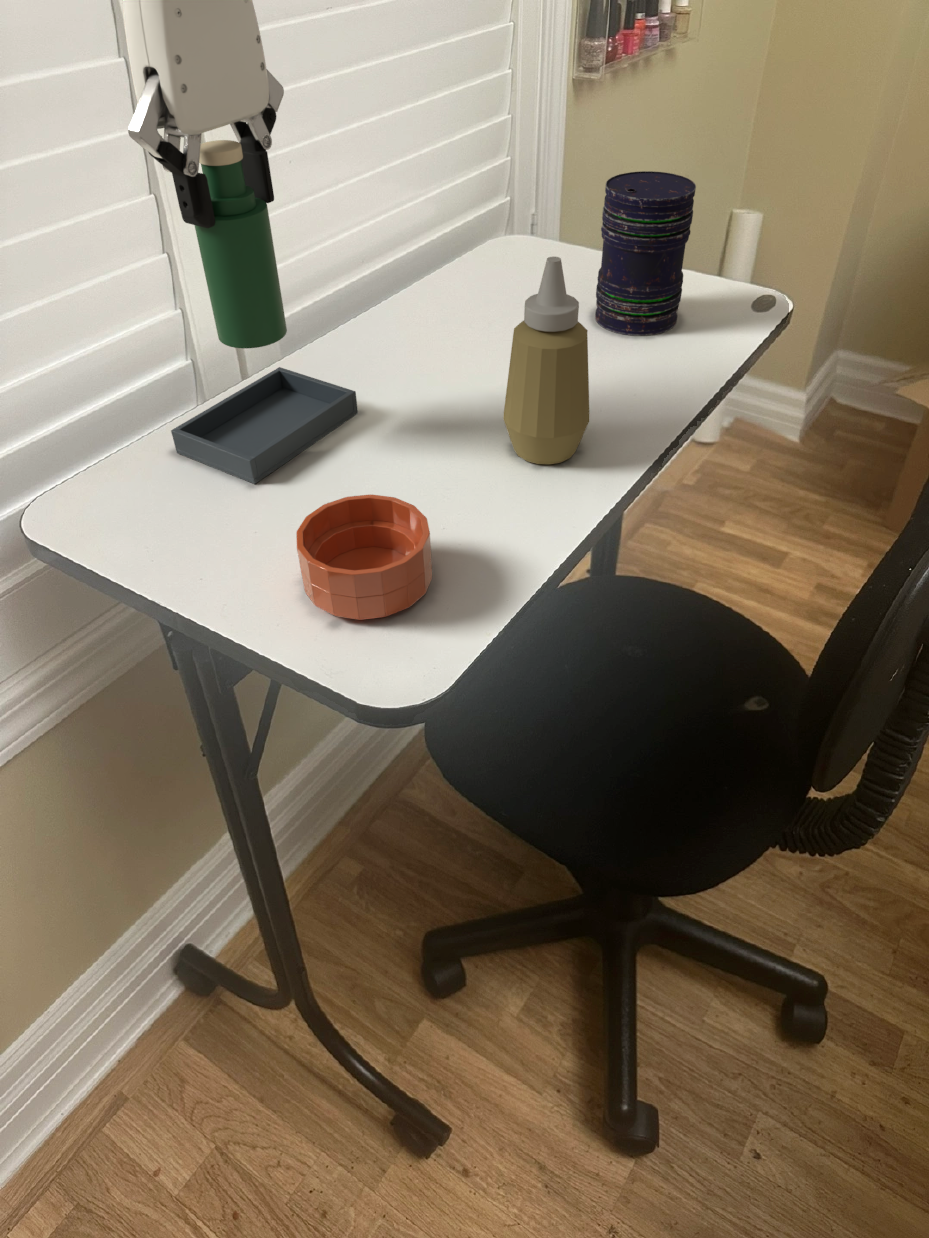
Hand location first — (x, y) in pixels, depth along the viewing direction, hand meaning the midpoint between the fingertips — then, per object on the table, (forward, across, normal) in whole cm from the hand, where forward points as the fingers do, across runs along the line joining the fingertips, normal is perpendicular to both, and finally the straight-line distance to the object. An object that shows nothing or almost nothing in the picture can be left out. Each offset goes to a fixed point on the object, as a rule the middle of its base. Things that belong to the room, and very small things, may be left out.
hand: (229, 210), depth 75 cm
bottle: (+11, 0, 0) cm, 11 cm away
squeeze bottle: (+21, -11, +25) cm, 35 cm away
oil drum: (+21, -43, +19) cm, 51 cm away
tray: (+21, 0, 0) cm, 21 cm away
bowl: (+21, +13, +23) cm, 34 cm away
